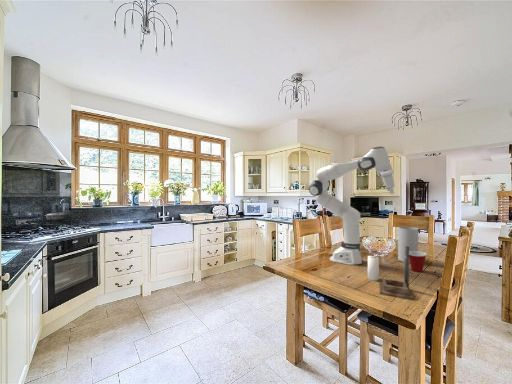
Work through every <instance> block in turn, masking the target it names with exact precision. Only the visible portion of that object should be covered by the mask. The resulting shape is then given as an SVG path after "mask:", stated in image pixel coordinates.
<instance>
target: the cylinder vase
mask: <svg viewBox="0 0 512 384" xmlns="http://www.w3.org/2000/svg"><path fill="white" fill-rule="evenodd" d="M397 229H398V230H397V232H398V233H397V234H398V235H397V244H398V245H397V259H398V261H400V262H403V263H405V246H408V247H409V251H419V228H418V227H415V226H414V227H412V226H398V228H397ZM409 264H410V260H409Z"/></svg>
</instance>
